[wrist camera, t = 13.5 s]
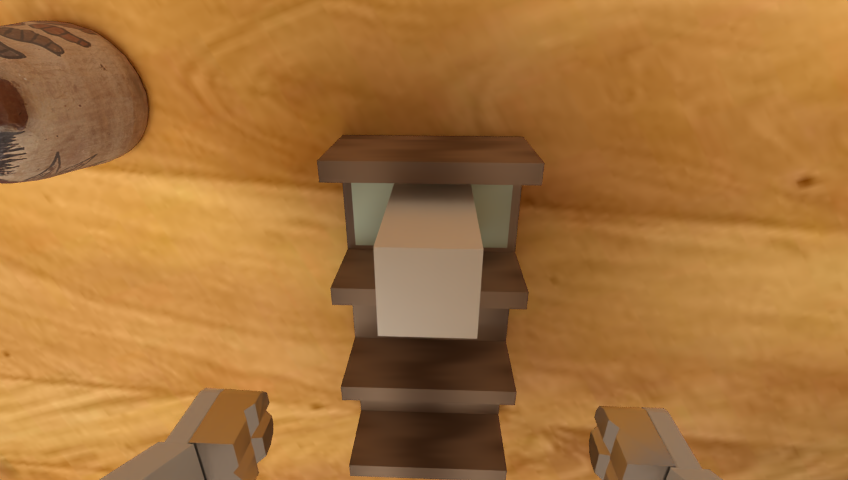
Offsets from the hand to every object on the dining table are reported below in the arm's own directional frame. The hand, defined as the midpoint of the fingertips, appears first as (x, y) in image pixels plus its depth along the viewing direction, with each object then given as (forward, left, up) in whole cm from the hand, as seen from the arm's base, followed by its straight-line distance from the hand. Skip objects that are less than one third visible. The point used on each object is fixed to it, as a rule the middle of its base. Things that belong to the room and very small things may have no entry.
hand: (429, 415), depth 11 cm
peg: (0, 0, -15) cm, 15 cm away
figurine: (+19, -6, -17) cm, 26 cm away
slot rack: (0, +7, -16) cm, 18 cm away
